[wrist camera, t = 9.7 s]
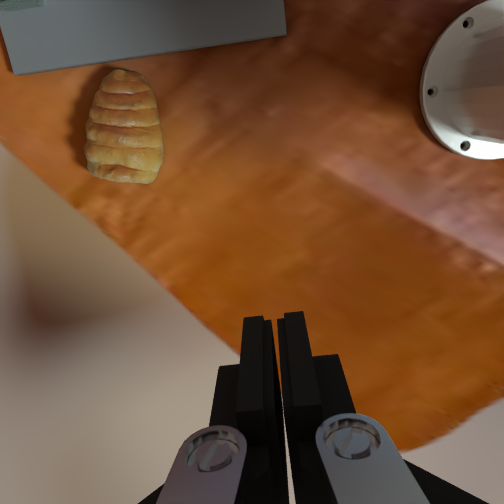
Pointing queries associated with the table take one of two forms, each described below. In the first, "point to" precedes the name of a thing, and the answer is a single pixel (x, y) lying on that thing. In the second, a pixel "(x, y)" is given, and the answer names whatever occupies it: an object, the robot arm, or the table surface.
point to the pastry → (124, 130)
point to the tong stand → (19, 4)
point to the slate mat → (130, 29)
